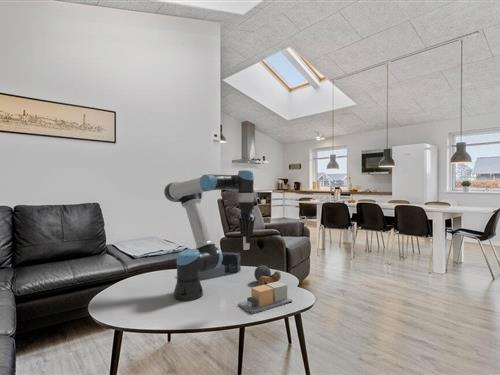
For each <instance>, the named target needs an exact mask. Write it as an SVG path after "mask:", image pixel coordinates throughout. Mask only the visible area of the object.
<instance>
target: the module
mask: <svg viewBox="0 0 500 375" xmlns="http://www.w3.org/2000/svg"><path fill="white" fill-rule="evenodd" d="M256 286H257V285H256ZM256 286H253V287H251V291H250V292H251V295H250V297H252V298H254V299H255V300H257V301H258V306H259V307H261V306H265V305H268V304H272V303H273V288H271V287H269V286H266V284H264V285H262V284H260V285H259V286H257V287H256Z"/></svg>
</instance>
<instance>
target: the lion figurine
mask: <svg viewBox="0 0 500 375" xmlns="http://www.w3.org/2000/svg"><path fill="white" fill-rule="evenodd" d="M281 277H282V276H281V271H278V270H276V271H274V273H271V276H270V277H266V276H261V277H260V278H259V280H258V281H257V285H256V286H255V287H257V286H261V285H265V283H267V284H269V283H273V282H277V281H279V282H280V280H281ZM259 281H260V282H259Z"/></svg>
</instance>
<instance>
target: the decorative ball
mask: <svg viewBox="0 0 500 375" xmlns="http://www.w3.org/2000/svg"><path fill="white" fill-rule="evenodd" d="M271 275H272V272H271V269H270V268H269V267H268V266H267V265H259V266H257V267H256V268H255V269H254V278H255V280H256V281H257V282H258V280H259V278H260V277H261V276H266V277H270V276H271ZM259 282H260V281H259Z"/></svg>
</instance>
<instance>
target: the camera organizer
mask: <svg viewBox="0 0 500 375" xmlns="http://www.w3.org/2000/svg"><path fill="white" fill-rule="evenodd" d="M224 276H226V272H225V266H224V265H220V266H219V267H218V268H216V269H213V270H209V271H205V272H202V273H199V280H200V281H202V280H203V281H205V280H209V279H212V278H213V279H215V278H219V277H224Z"/></svg>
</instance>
